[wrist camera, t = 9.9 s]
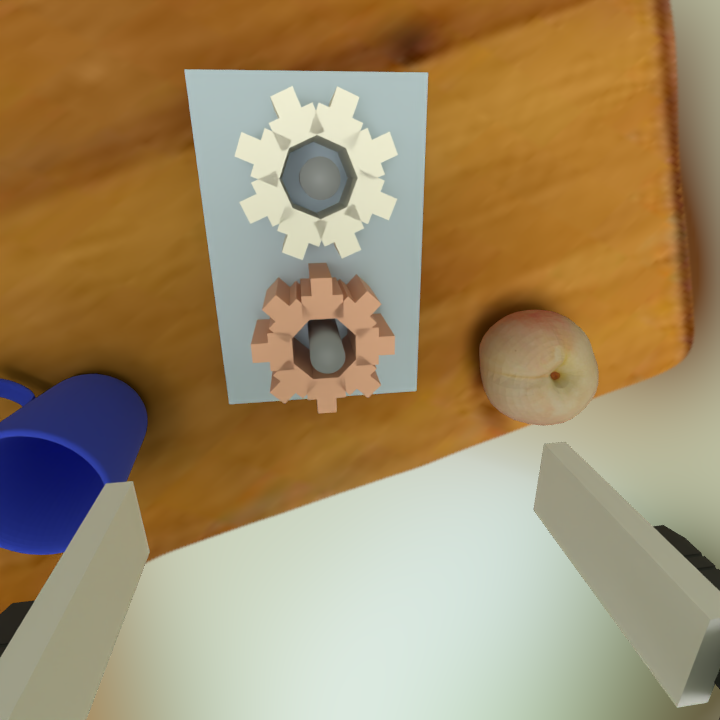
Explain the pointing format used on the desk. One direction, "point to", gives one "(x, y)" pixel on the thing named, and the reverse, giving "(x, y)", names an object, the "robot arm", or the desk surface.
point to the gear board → (314, 192)
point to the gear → (357, 159)
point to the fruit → (538, 367)
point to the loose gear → (293, 358)
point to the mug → (63, 457)
